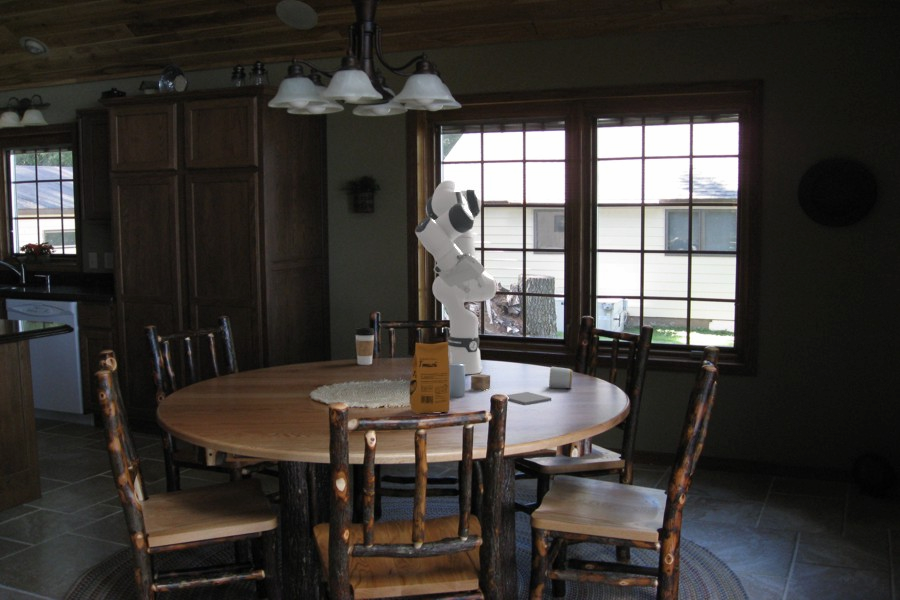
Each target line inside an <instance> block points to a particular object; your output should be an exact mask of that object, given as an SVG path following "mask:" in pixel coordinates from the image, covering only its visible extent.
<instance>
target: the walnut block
mask: <svg viewBox="0 0 900 600" xmlns="http://www.w3.org/2000/svg"><path fill="white" fill-rule="evenodd" d="M489 388H490V389H491V375H490V374H484V373H483V374H481V373H476V374H472V375H471V376H470V390H471V389H473V391H478V390H481V391H480V392H485V391H487V390H486V389H488V390H490V389H489ZM484 390H485V391H484Z"/></svg>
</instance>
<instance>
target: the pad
mask: <svg viewBox="0 0 900 600" xmlns="http://www.w3.org/2000/svg"><path fill="white" fill-rule="evenodd" d="M506 395H507V396H508V397H509V400H510V402H513V401H514V403H517V402H518V404H520V403H521V405H524V404H527V405H531V403H532V404H537V402H538V403H543V402H542V401H544V402H549V401H548V400H550V401H552V397H550V396H545V395H541V394H537V393H533V392H529V391H524V392H518V393H512V394H506ZM509 400H508V401H509Z"/></svg>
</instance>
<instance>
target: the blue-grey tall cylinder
mask: <svg viewBox="0 0 900 600" xmlns="http://www.w3.org/2000/svg"><path fill="white" fill-rule="evenodd" d="M449 369H450V376H449V392H450V398H456V397H458V398H464V397H465V396H466V395H465V394H466V393H465V390H466V389H465V388H466V374H465V364H463V363H450V364H449Z"/></svg>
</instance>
